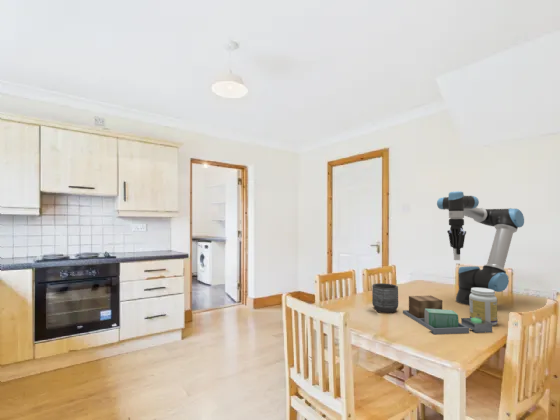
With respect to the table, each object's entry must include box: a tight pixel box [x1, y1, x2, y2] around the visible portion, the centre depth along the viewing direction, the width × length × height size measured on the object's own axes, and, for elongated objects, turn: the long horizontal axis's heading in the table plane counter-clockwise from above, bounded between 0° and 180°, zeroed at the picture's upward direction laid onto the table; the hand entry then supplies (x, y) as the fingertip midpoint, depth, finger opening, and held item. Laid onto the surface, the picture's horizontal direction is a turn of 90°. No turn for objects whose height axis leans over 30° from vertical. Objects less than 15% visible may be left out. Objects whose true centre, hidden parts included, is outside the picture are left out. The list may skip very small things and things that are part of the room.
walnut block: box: [408, 295, 443, 318], centre depth 163 cm, size 13×10×10 cm
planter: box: [371, 282, 399, 314], centre depth 176 cm, size 14×14×15 cm
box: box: [424, 308, 460, 328], centre depth 149 cm, size 7×14×8 cm, turn 80°
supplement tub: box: [468, 288, 499, 327], centre depth 158 cm, size 12×12×17 cm
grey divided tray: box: [402, 309, 470, 335], centre depth 156 cm, size 18×29×2 cm, turn 6°
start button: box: [471, 318, 482, 323], centre depth 148 cm, size 4×4×4 cm
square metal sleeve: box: [460, 317, 493, 334], centre depth 148 cm, size 9×9×4 cm
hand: (456, 260), depth 172 cm, fingers closed
